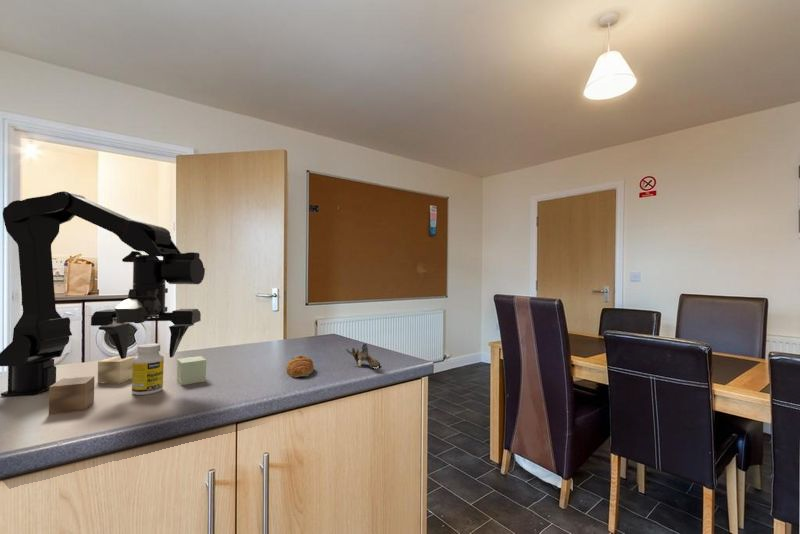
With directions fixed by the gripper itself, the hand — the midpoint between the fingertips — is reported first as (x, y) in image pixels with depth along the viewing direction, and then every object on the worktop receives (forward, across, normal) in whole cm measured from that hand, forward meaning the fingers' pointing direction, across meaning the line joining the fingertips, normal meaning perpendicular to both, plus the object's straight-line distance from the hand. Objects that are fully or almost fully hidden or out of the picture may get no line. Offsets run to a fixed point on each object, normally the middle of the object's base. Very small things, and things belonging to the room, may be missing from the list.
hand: (147, 357), depth 77 cm
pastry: (+8, +31, +10) cm, 33 cm away
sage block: (+7, +6, +7) cm, 12 cm away
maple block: (+7, -11, +10) cm, 16 cm away
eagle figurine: (+7, +47, +14) cm, 50 cm away
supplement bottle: (+7, 0, 0) cm, 7 cm away
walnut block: (+7, -9, -8) cm, 14 cm away
